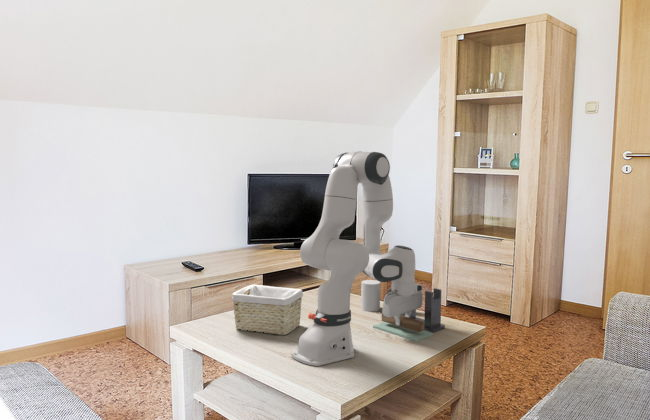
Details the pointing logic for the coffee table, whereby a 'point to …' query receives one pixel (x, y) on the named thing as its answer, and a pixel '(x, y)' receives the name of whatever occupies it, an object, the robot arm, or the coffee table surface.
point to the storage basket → (267, 309)
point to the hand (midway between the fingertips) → (402, 323)
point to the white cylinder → (370, 295)
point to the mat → (403, 331)
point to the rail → (406, 323)
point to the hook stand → (431, 311)
